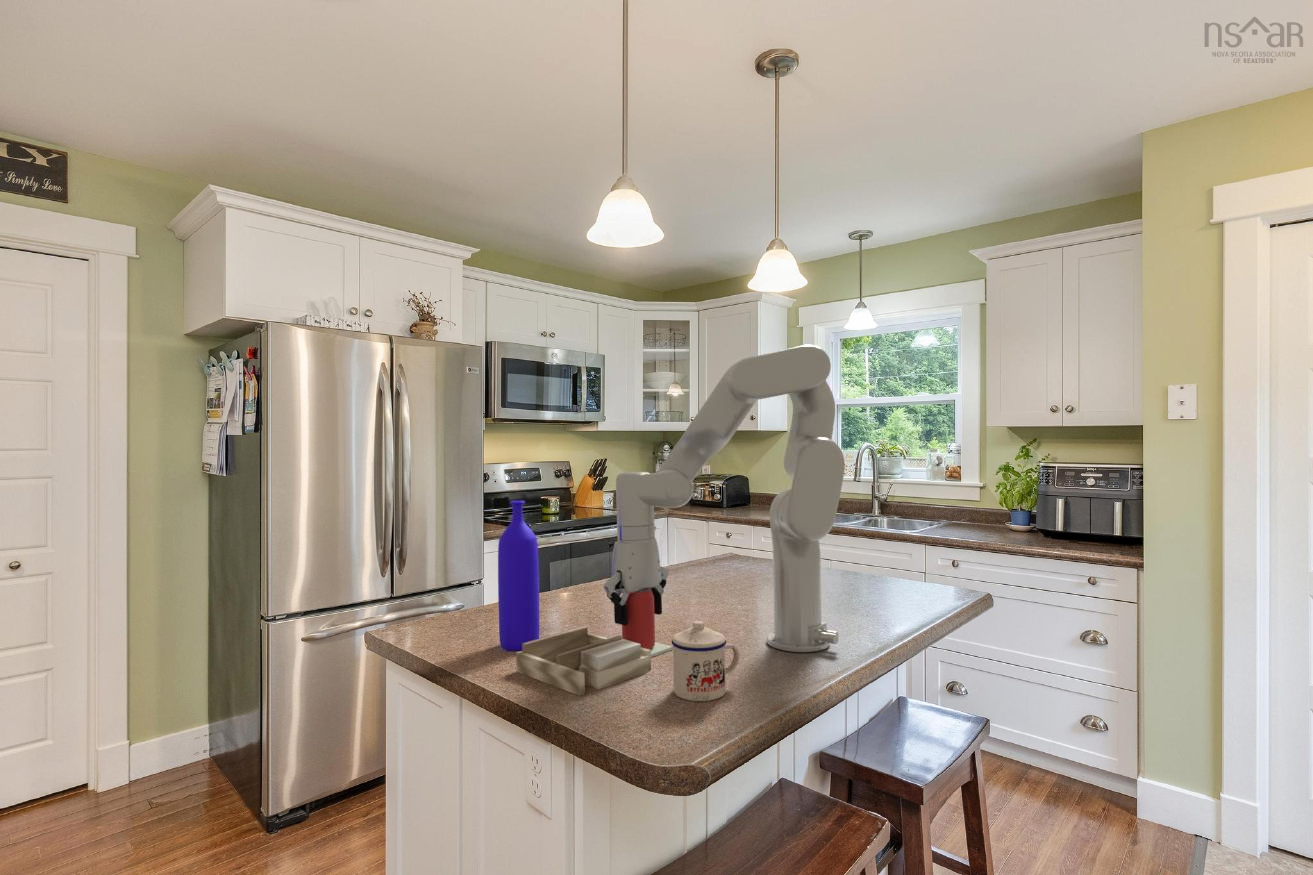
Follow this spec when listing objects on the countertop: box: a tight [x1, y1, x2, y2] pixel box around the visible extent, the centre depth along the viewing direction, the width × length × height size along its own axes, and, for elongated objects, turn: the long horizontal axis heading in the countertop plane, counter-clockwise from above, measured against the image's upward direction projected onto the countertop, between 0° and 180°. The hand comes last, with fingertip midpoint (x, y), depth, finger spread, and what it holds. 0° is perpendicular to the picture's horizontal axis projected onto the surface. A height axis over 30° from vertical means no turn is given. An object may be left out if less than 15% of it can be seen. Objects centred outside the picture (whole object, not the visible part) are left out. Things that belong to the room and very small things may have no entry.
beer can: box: [621, 587, 656, 650], centre depth 133 cm, size 7×7×12 cm
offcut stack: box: [579, 639, 649, 691], centre depth 118 cm, size 5×12×6 cm, turn 135°
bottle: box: [497, 500, 540, 652], centre depth 138 cm, size 8×8×30 cm
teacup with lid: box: [671, 620, 740, 702], centre depth 111 cm, size 12×9×12 cm
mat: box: [650, 641, 673, 658], centre depth 133 cm, size 10×10×1 cm
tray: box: [515, 625, 652, 697], centre depth 122 cm, size 18×17×5 cm
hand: (638, 618), depth 133 cm, fingers open, 9 cm apart
